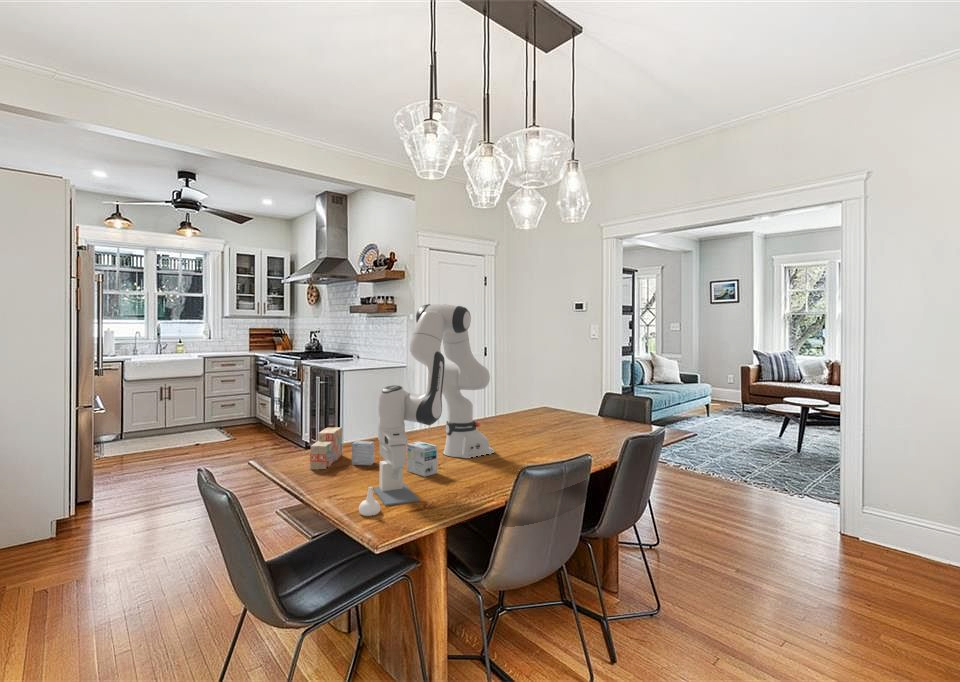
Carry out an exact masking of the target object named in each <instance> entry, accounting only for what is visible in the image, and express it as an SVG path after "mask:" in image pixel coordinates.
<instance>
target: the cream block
mask: <svg viewBox="0 0 960 682" xmlns="http://www.w3.org/2000/svg"><path fill="white" fill-rule="evenodd" d="M392 473H393V469H392V466H391V465H390V464H389V463H388V462H387V461H384V460H380V461H379V475H378V477H379V480H378V481H379V485H378V487H379V488H380V489H381V490H382V491H388V490H396V489H403V484H404V468H401V469H400V470H399V474H398V479H396V480H393V479H392Z"/></svg>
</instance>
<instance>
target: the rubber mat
mask: <svg viewBox="0 0 960 682" xmlns="http://www.w3.org/2000/svg"><path fill="white" fill-rule="evenodd" d="M372 491H373V492H374V493H375V494H376V495H377V497H378V498H379V500H380V501H381V502H382V504H383V506H385V507H389V505H390V506H396V504H397V505H403V504H404V505H405V504H409V503H415V502H416V503H418V502H420V501H421V500H420V498H419V497H418V496H417V495H416V494H415V493H414V492H413V491H412V490H411V489H410V488H409V486H407V484H405V483H403V489H396V490H388V491H382V490H381V489H380V488H379V486H375V487H374V486H372Z"/></svg>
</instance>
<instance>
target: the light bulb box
mask: <svg viewBox="0 0 960 682" xmlns="http://www.w3.org/2000/svg"><path fill="white" fill-rule="evenodd" d="M406 472H409V473H412V474H414V475H415V474H416V475H418V476H421V477H429V476H432V475H435V474H438V445H437V444H436V445H435V444H432V443H428V442H424V441H419V440H418V441H414V442H408V443H407V444H406Z"/></svg>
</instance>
